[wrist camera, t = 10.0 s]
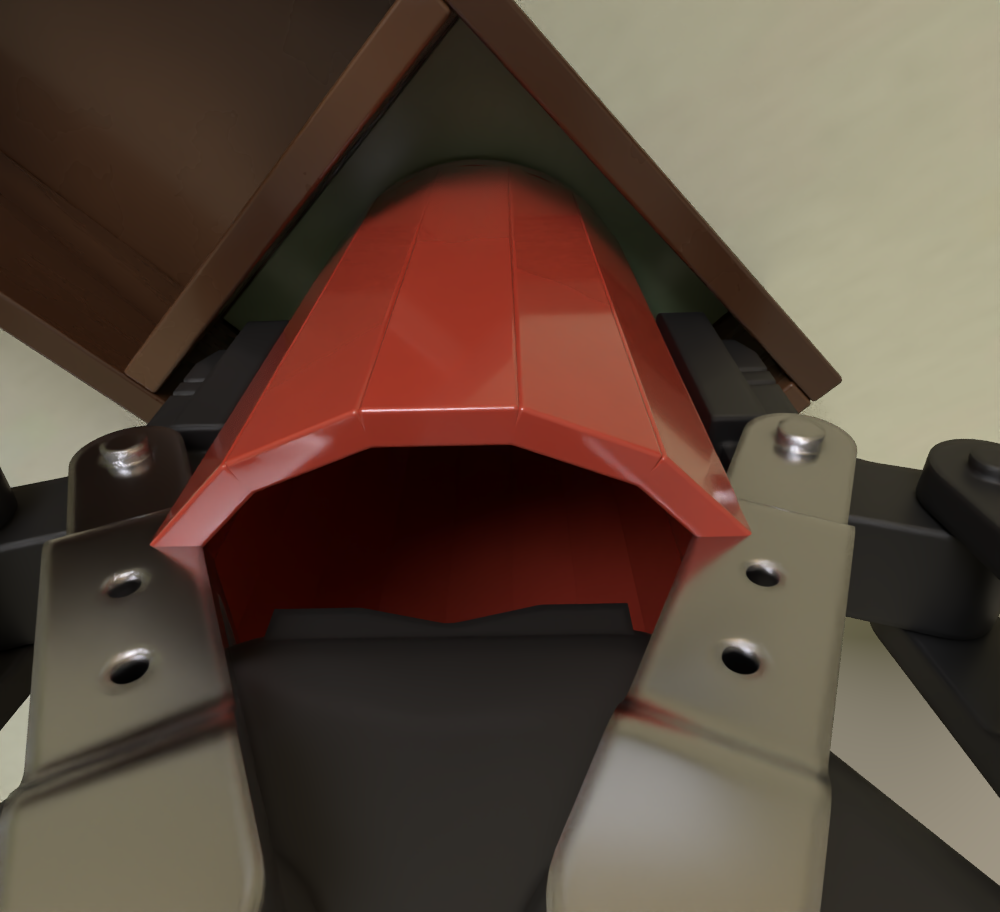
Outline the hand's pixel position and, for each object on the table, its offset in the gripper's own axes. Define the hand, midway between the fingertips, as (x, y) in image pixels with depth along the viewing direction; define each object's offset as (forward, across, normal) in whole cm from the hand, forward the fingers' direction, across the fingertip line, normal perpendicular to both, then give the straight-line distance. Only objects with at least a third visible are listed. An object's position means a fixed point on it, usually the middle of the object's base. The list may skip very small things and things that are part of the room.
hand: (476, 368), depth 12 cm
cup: (+2, 0, 0) cm, 2 cm away
